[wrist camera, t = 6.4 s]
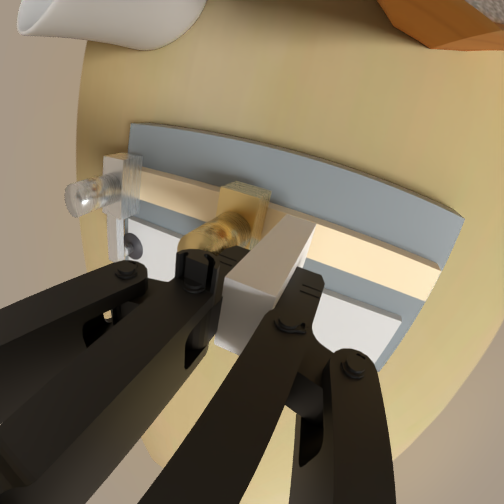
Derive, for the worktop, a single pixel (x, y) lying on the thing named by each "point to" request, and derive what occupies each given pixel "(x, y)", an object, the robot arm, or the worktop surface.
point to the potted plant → (450, 22)
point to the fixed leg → (110, 198)
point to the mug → (110, 20)
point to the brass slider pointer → (232, 220)
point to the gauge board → (308, 208)
